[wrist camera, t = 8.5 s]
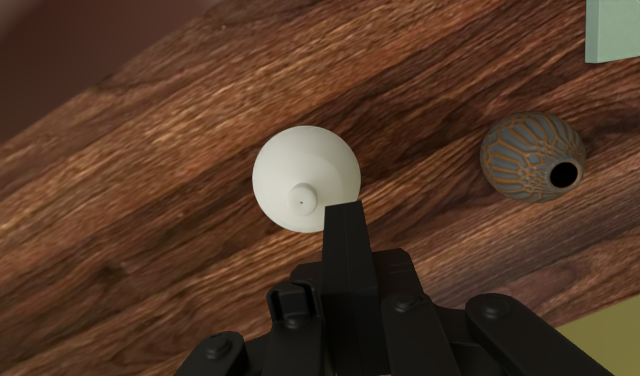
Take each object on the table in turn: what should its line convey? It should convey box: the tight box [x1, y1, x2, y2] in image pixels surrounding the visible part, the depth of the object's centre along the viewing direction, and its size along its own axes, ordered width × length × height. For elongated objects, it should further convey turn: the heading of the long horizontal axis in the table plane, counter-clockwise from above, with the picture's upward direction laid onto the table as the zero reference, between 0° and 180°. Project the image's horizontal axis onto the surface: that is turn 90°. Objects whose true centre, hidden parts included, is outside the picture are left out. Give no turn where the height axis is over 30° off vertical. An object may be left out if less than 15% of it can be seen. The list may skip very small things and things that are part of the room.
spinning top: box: [253, 126, 361, 233], centre depth 30 cm, size 8×8×12 cm
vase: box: [480, 111, 586, 203], centre depth 31 cm, size 7×7×9 cm
